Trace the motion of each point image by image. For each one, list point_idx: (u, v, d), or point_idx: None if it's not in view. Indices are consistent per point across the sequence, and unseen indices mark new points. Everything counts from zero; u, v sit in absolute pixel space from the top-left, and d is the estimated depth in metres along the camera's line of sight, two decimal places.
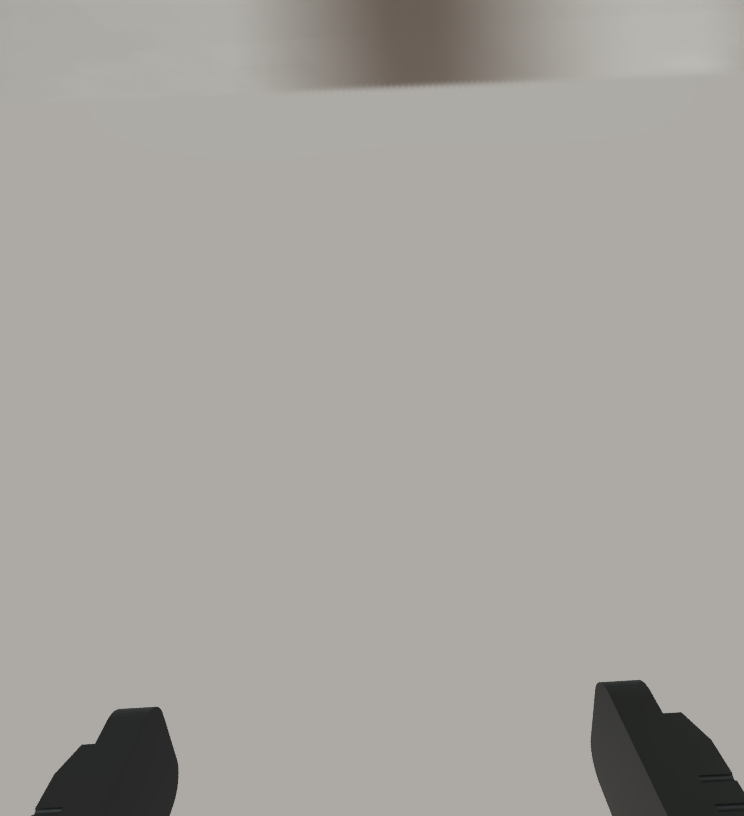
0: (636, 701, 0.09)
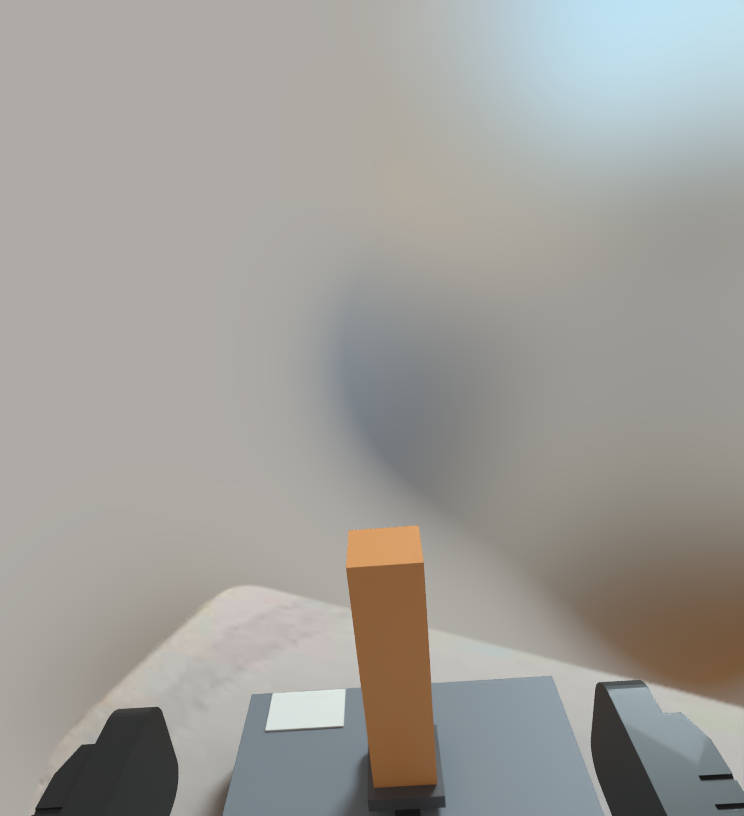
0: (636, 701, 0.09)
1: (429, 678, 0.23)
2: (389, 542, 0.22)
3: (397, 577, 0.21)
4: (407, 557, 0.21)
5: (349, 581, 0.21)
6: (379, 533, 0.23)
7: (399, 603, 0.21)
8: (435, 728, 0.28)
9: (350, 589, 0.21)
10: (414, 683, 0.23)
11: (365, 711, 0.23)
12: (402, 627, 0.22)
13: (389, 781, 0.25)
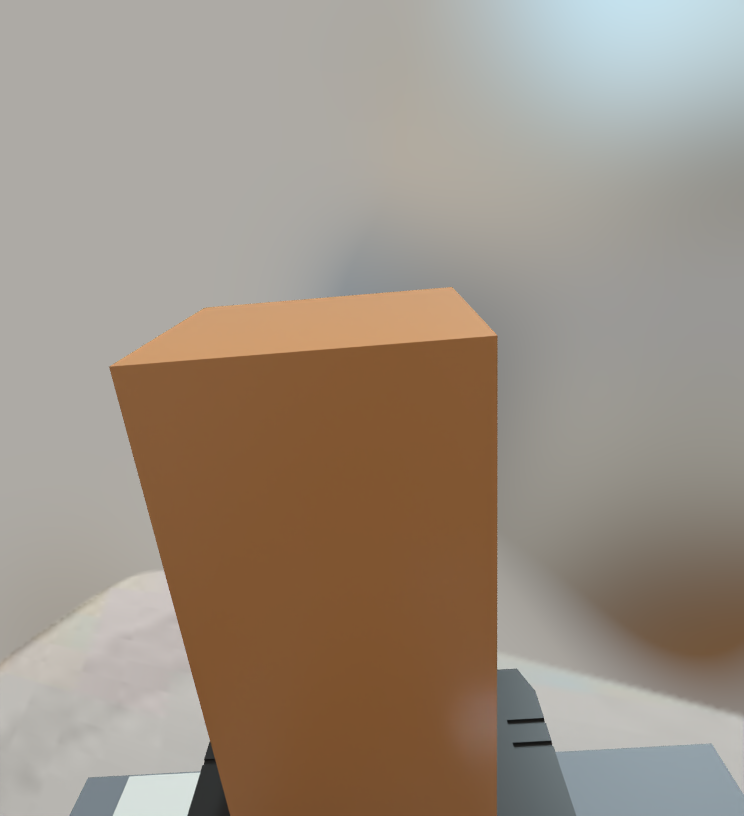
0: None
1: None
2: (338, 313, 0.05)
3: (367, 419, 0.04)
4: (413, 331, 0.04)
5: (138, 443, 0.04)
6: (310, 303, 0.06)
7: (378, 554, 0.05)
8: None
9: (147, 484, 0.04)
10: None
11: None
12: (392, 657, 0.05)
13: None
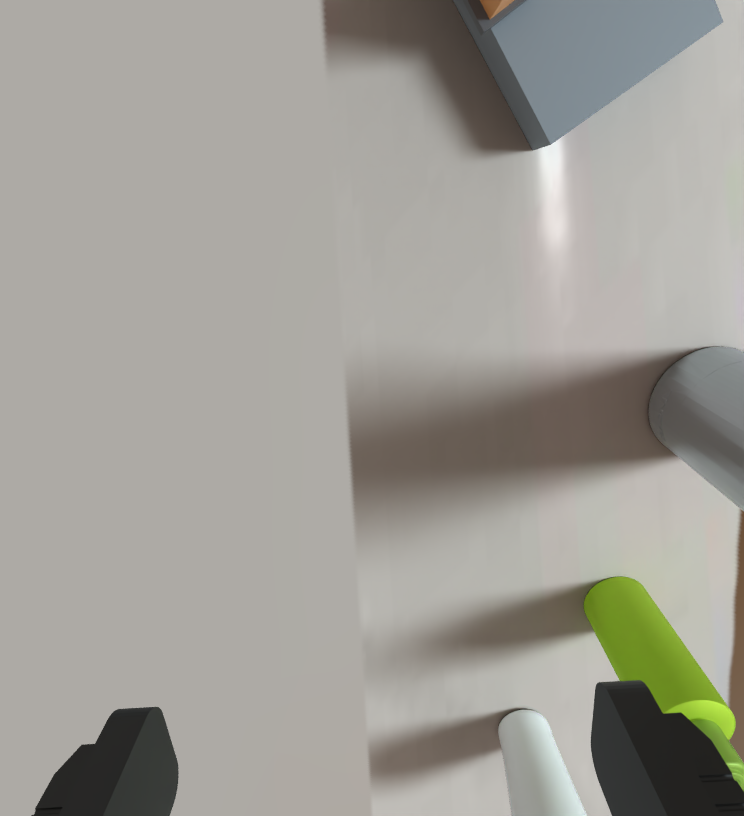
0: (636, 701, 0.09)
1: None
2: None
3: None
4: None
5: None
6: None
7: None
8: None
9: None
10: None
11: None
12: None
13: None
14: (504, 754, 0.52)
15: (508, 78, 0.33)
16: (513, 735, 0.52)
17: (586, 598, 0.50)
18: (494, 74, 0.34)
